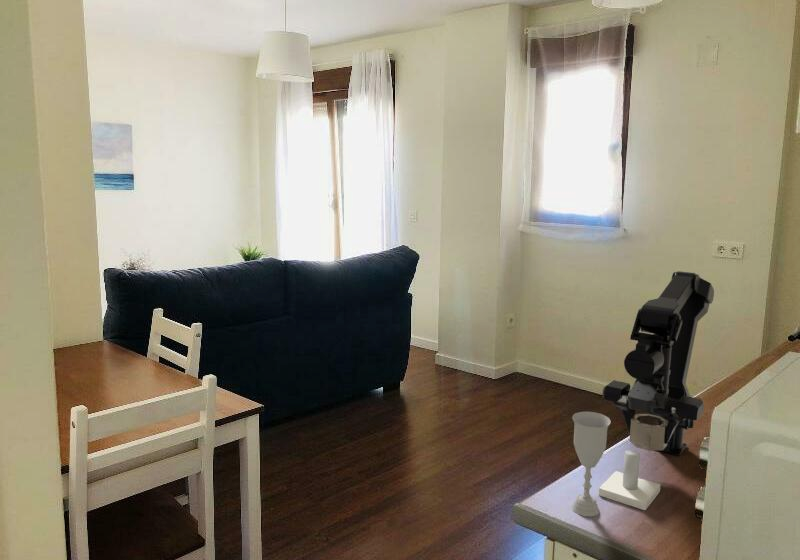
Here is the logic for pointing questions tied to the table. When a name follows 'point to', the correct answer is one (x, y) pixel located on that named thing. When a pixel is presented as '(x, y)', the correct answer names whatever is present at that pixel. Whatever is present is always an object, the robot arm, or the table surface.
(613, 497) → the post plate
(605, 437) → the chalice
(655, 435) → the hub
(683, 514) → the table surface
